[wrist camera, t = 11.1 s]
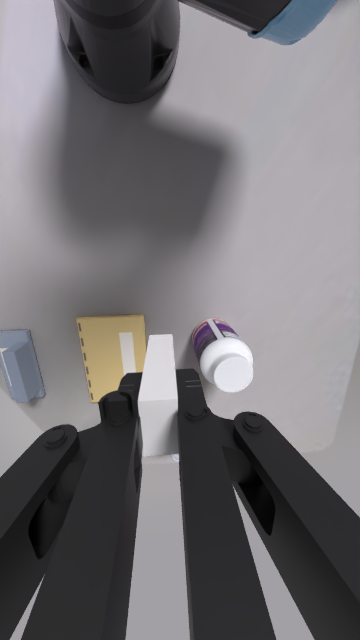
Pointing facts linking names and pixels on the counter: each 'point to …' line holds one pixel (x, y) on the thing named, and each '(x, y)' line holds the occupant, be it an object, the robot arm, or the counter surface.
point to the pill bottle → (222, 355)
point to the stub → (20, 365)
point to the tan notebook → (111, 350)
